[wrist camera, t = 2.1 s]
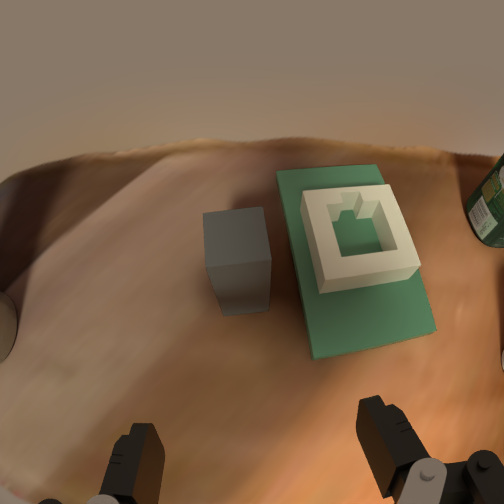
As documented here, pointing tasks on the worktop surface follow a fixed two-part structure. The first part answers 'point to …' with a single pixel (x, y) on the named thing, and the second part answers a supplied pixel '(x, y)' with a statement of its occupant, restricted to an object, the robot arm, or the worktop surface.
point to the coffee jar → (489, 207)
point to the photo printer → (503, 359)
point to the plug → (238, 259)
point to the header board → (350, 306)
